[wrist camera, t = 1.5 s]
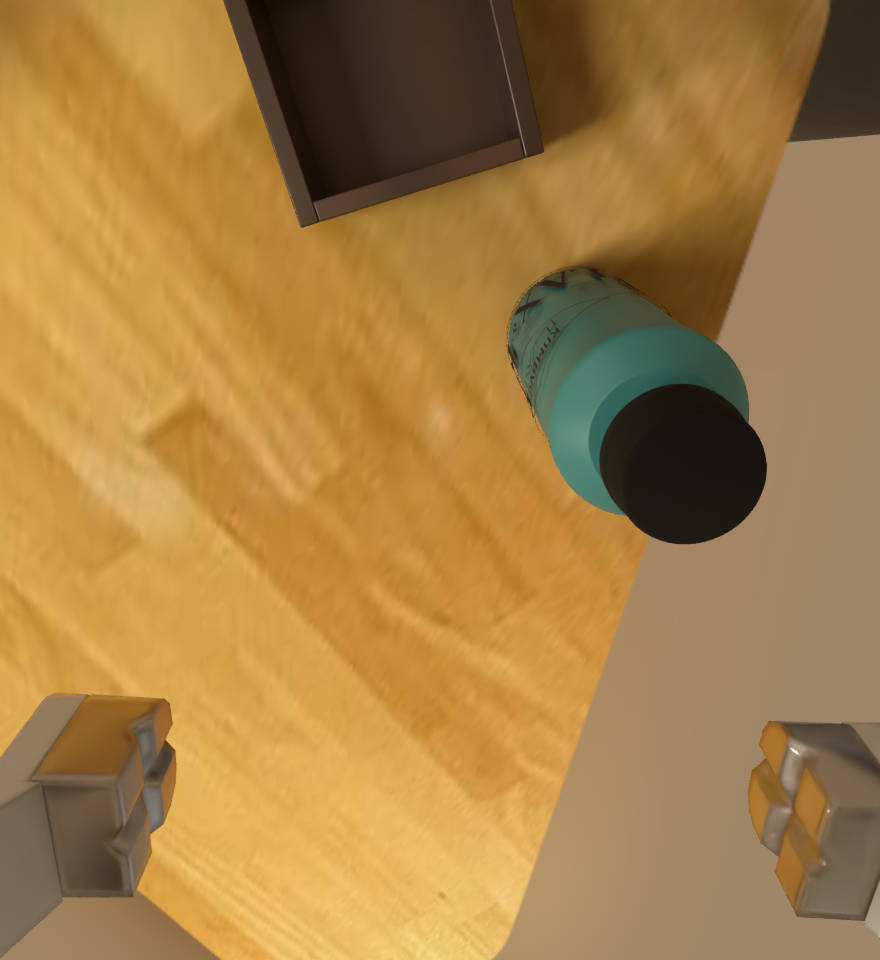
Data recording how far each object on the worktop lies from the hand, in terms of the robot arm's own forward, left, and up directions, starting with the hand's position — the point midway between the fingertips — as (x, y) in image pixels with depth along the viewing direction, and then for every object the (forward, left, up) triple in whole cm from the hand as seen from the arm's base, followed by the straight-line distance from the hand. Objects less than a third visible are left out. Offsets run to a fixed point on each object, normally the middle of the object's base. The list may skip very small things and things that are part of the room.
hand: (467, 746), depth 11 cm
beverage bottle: (-6, +2, -30) cm, 30 cm away
